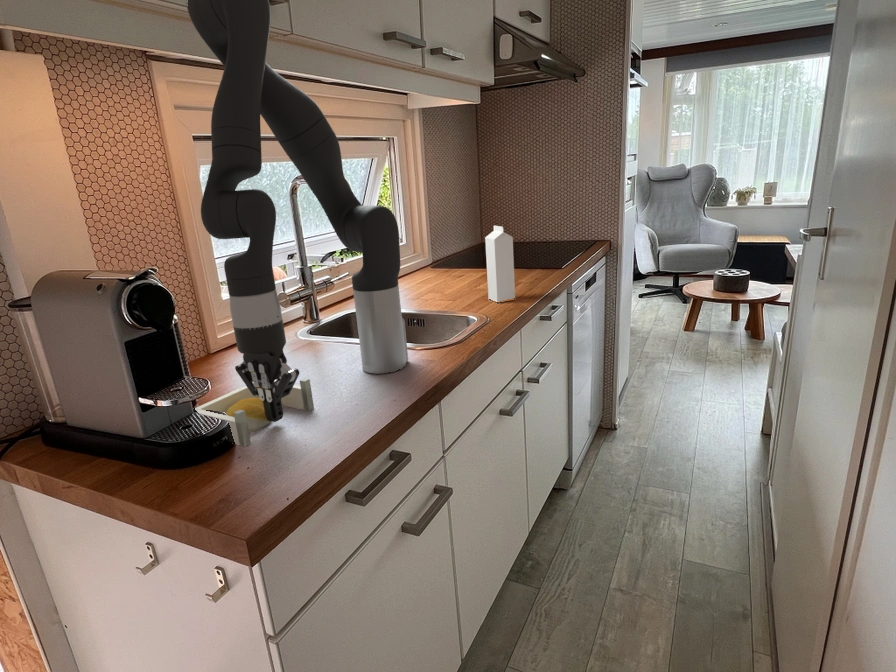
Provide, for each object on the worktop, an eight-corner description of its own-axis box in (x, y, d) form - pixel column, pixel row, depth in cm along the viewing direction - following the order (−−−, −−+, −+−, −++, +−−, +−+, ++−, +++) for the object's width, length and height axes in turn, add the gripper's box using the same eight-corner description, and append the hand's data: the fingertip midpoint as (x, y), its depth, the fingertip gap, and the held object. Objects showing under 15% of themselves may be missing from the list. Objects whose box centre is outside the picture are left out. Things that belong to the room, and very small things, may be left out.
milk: (505, 297, 172) (503, 224, 166) (515, 301, 167) (512, 225, 161) (488, 300, 170) (484, 226, 164) (497, 304, 165) (493, 227, 158)
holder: (264, 398, 107) (259, 370, 105) (314, 408, 100) (309, 379, 99) (193, 432, 94) (186, 401, 93) (245, 446, 88) (238, 413, 86)
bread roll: (275, 409, 102) (271, 388, 101) (271, 430, 94) (267, 408, 93) (227, 416, 101) (223, 395, 100) (219, 438, 92) (214, 415, 91)
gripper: (305, 316, 89) (320, 417, 94) (248, 311, 96) (264, 405, 101) (268, 329, 83) (287, 436, 88) (210, 323, 90) (230, 422, 95)
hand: (275, 419), depth 94 cm, fingers closed
